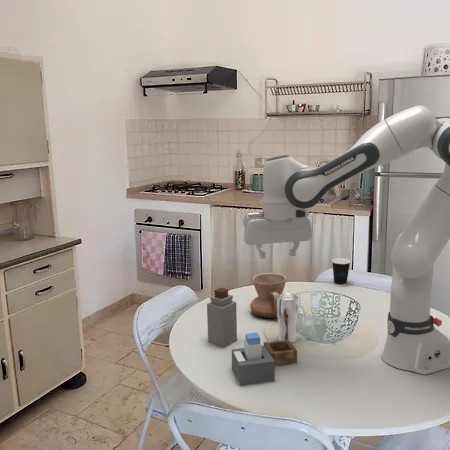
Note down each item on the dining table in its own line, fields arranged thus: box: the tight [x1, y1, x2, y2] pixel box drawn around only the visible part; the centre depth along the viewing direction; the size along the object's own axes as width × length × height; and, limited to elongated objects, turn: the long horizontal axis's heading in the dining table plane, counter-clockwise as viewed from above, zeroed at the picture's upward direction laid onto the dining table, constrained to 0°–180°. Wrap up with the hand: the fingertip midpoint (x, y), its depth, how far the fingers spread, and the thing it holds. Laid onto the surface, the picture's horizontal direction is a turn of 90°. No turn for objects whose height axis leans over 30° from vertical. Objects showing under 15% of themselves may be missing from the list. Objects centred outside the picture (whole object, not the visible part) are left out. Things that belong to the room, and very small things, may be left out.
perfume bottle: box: [206, 287, 238, 349], centre depth 161 cm, size 7×7×18 cm
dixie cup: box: [331, 257, 352, 288], centre depth 213 cm, size 8×8×11 cm
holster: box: [263, 340, 298, 367], centre depth 150 cm, size 8×8×4 cm
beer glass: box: [276, 292, 299, 344], centre depth 162 cm, size 7×7×15 cm
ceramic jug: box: [249, 272, 287, 319], centre depth 183 cm, size 18×14×14 cm
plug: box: [243, 331, 263, 361], centre depth 140 cm, size 4×4×12 cm
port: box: [231, 344, 276, 386], centre depth 141 cm, size 10×10×6 cm
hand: (277, 256), depth 148 cm, fingers open, 8 cm apart
